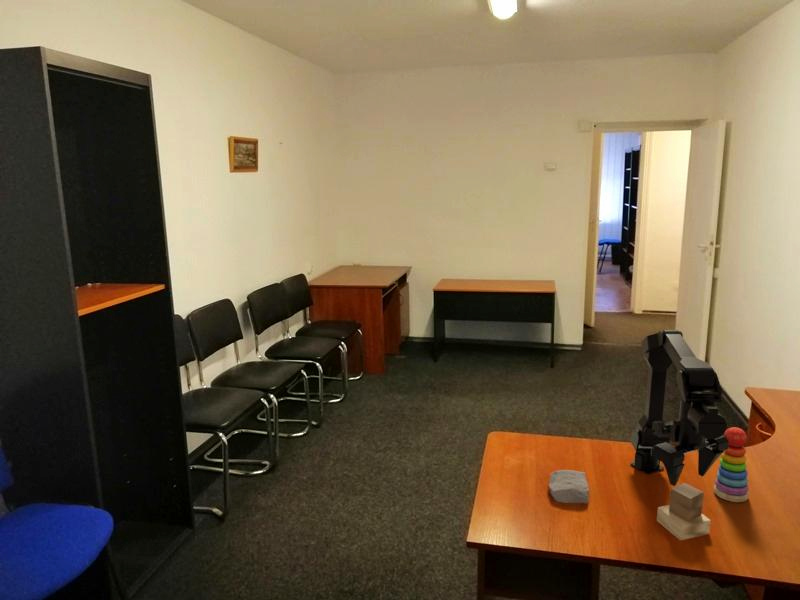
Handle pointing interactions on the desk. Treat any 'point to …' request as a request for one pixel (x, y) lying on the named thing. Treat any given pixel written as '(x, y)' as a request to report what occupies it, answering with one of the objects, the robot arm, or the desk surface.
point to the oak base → (683, 524)
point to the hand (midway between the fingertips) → (687, 480)
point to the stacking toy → (733, 468)
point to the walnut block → (686, 502)
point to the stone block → (569, 486)
